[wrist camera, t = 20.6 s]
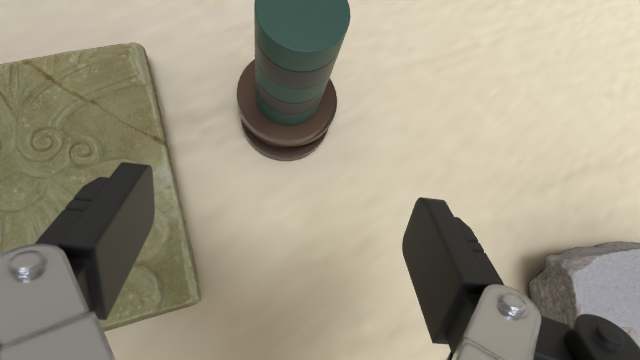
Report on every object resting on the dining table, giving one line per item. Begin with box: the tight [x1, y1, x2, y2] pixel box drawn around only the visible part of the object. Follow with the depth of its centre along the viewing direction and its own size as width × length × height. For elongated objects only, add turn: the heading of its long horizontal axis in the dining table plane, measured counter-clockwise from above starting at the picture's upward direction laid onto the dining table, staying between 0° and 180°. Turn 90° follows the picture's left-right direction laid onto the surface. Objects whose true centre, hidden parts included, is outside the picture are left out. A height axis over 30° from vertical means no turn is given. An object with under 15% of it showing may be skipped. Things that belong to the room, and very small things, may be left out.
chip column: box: [255, 0, 350, 126], centre depth 24 cm, size 5×5×10 cm
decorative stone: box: [528, 242, 640, 347], centre depth 31 cm, size 15×7×10 cm
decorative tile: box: [0, 43, 200, 332], centre depth 27 cm, size 19×20×4 cm
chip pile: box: [237, 60, 337, 161], centre depth 31 cm, size 8×8×4 cm
